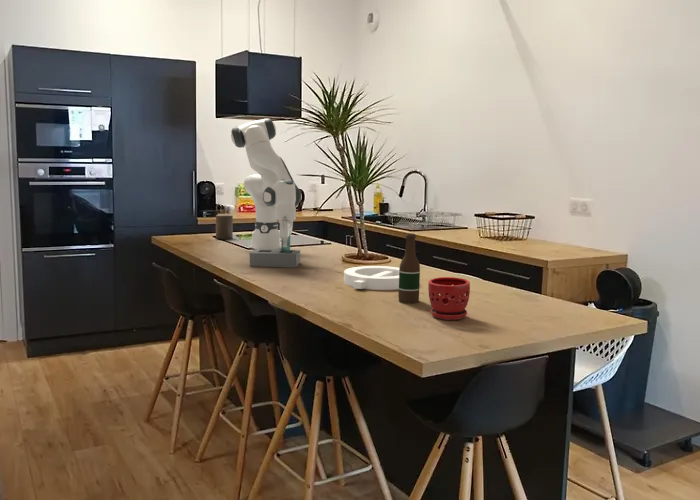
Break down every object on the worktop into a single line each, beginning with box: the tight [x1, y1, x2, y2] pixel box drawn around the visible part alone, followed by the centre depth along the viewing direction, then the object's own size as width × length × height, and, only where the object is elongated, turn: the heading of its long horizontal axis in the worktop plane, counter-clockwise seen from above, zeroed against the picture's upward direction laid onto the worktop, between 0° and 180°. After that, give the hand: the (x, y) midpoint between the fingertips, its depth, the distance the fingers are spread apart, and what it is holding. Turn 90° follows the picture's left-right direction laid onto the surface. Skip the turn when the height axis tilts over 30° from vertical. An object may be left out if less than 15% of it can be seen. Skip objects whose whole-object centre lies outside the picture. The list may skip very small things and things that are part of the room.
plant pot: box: [427, 276, 471, 321], centre depth 215 cm, size 13×13×12 cm
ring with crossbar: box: [343, 265, 400, 291], centre depth 269 cm, size 28×28×5 cm
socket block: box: [249, 249, 301, 268], centre depth 306 cm, size 13×21×6 cm, turn 87°
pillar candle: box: [215, 213, 234, 240], centre depth 389 cm, size 10×10×15 cm
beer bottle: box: [398, 232, 421, 304], centre depth 235 cm, size 8×8×24 cm
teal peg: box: [280, 234, 291, 253], centre depth 305 cm, size 4×4×14 cm
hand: (285, 246), depth 305 cm, fingers closed on teal peg, 4 cm apart
